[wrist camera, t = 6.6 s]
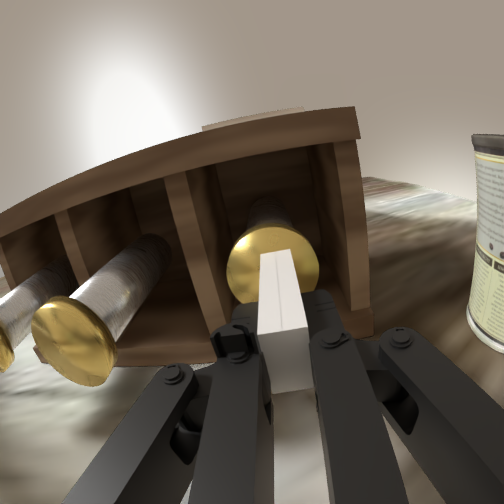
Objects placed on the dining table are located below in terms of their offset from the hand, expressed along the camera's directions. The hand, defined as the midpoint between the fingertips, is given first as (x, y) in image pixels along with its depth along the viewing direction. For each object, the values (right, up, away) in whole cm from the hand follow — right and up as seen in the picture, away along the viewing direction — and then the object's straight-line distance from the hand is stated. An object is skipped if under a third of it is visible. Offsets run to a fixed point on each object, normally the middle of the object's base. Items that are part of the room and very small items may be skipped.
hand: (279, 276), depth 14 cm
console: (-8, -6, +13) cm, 17 cm away
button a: (0, 0, +7) cm, 7 cm away
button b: (-10, -3, +3) cm, 11 cm away
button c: (-19, -5, +4) cm, 20 cm away
